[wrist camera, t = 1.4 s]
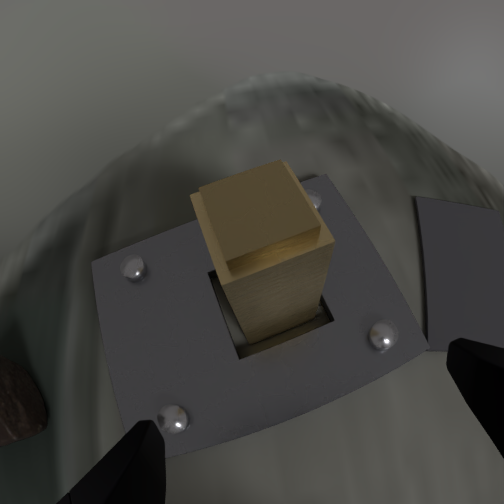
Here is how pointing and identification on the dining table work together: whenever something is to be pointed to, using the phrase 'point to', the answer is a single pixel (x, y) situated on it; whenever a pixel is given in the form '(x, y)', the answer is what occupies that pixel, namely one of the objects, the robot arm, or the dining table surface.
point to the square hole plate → (221, 343)
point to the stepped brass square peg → (265, 247)
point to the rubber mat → (462, 272)
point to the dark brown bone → (19, 404)
